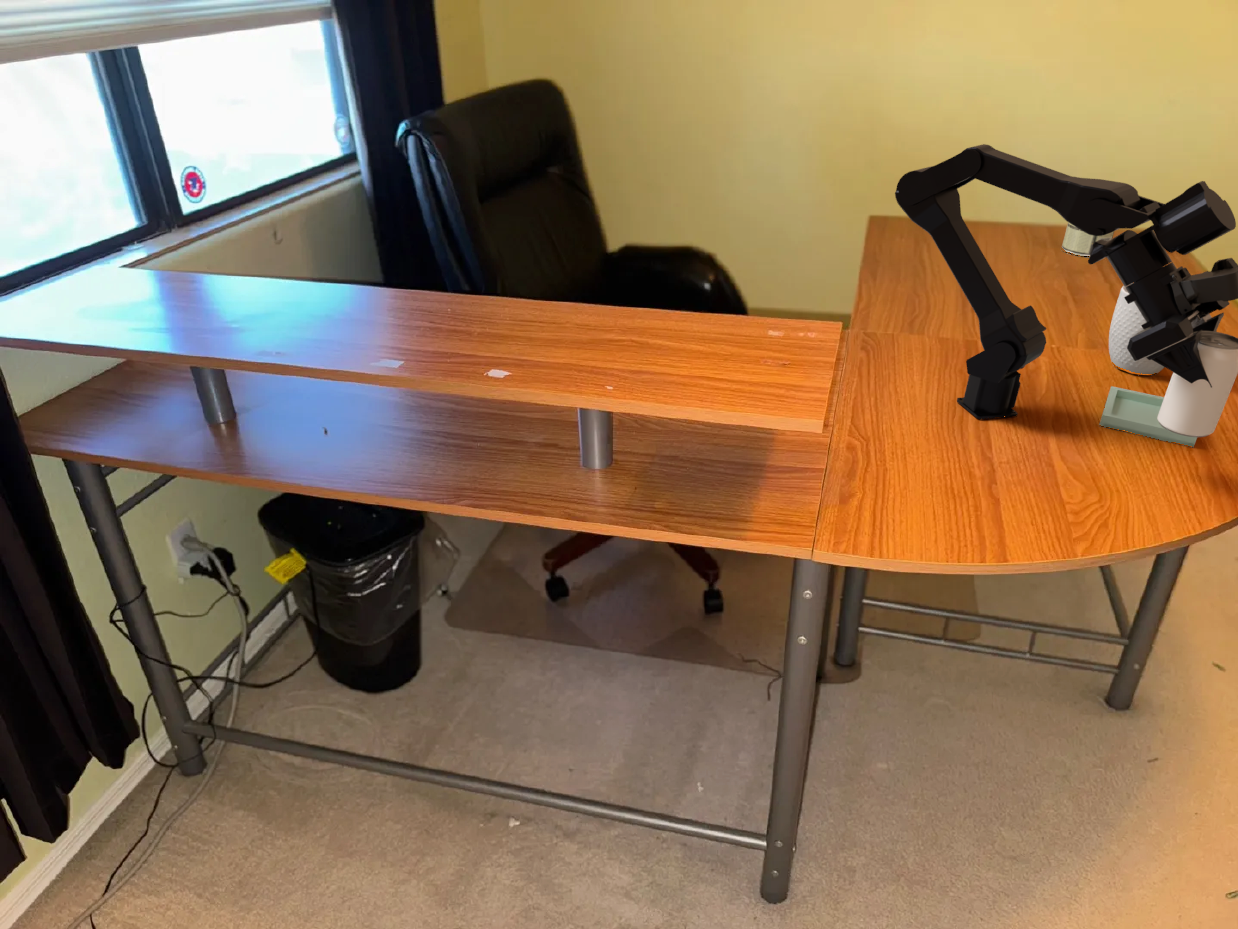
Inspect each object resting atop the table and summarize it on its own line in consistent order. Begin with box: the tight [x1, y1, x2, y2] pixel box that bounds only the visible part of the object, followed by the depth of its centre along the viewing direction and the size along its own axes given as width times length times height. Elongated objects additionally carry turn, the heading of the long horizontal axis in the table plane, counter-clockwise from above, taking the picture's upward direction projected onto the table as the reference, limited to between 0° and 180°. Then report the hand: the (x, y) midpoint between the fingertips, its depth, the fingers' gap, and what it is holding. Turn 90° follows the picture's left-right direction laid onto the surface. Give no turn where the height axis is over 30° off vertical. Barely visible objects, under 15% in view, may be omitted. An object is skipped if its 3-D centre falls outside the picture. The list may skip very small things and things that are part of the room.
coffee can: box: [1061, 222, 1115, 257], centre depth 205 cm, size 10×10×14 cm
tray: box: [1098, 385, 1198, 448], centre depth 129 cm, size 12×12×2 cm
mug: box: [1108, 285, 1165, 374], centre depth 142 cm, size 15×11×13 cm
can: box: [1157, 331, 1238, 438], centre depth 110 cm, size 6×6×12 cm
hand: (1215, 382), depth 109 cm, fingers closed on can, 5 cm apart
